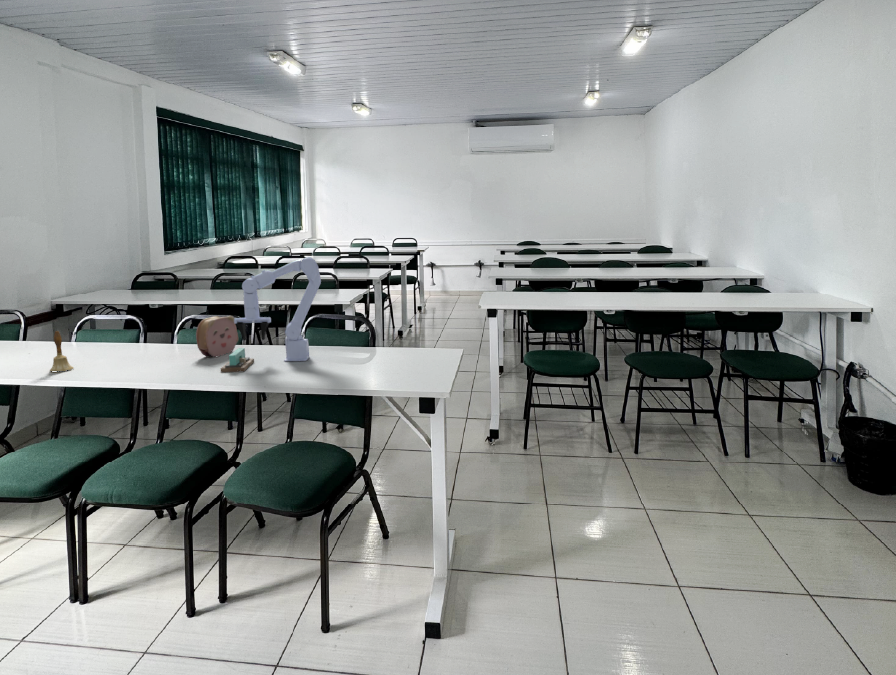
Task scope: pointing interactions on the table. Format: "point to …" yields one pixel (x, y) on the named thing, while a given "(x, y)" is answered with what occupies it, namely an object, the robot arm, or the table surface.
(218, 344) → the face sculpture
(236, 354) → the mint green bar
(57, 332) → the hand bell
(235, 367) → the display stand
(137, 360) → the table surface
